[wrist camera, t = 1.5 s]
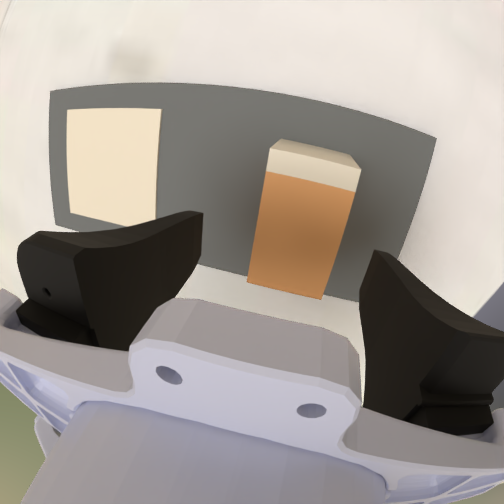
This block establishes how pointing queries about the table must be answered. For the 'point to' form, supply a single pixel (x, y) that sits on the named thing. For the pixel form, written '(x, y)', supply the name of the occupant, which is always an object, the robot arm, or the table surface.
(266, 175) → the card box
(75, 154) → the pad
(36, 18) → the table surface
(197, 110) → the mat
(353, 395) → the robot arm
